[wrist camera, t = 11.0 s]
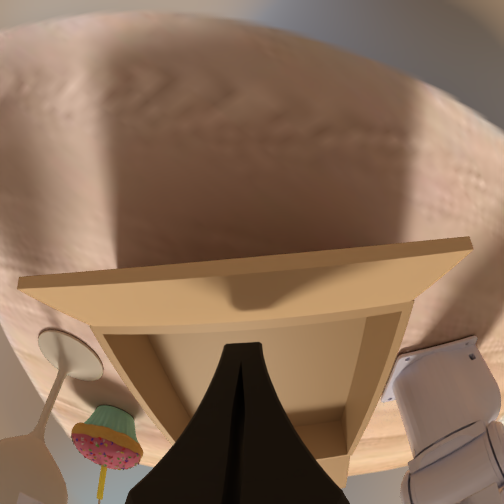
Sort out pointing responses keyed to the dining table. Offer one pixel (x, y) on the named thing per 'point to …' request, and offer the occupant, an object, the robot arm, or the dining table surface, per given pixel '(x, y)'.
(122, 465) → the cupcake
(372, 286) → the flap
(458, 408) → the robot arm
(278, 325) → the carton
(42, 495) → the wineglass
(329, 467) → the flap
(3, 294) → the dining table surface
